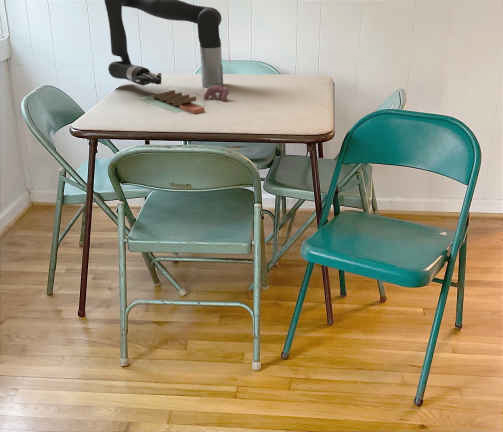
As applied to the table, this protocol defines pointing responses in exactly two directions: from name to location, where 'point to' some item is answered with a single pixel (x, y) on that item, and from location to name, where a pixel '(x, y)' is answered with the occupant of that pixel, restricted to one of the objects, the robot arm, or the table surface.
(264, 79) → the table surface
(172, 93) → the domino
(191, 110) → the domino
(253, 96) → the table surface
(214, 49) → the robot arm
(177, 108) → the felt mat
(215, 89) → the video game controller
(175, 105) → the domino
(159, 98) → the domino
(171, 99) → the domino
